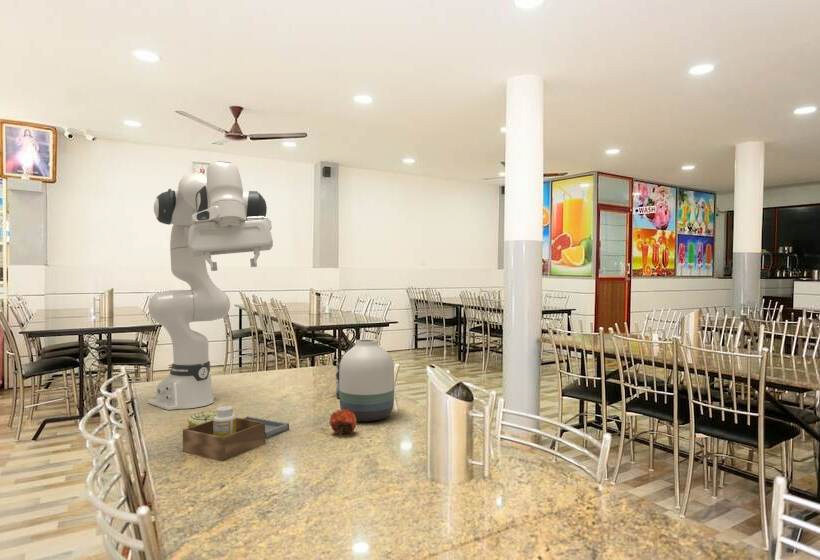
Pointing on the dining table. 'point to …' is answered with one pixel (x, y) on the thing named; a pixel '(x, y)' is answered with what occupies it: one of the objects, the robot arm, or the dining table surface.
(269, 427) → the tray
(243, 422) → the box
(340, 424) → the pomegranate
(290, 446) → the dining table surface
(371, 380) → the vase
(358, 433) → the dining table surface
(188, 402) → the robot arm
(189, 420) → the decorated donut
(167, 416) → the dining table surface
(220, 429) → the supplement bottle
